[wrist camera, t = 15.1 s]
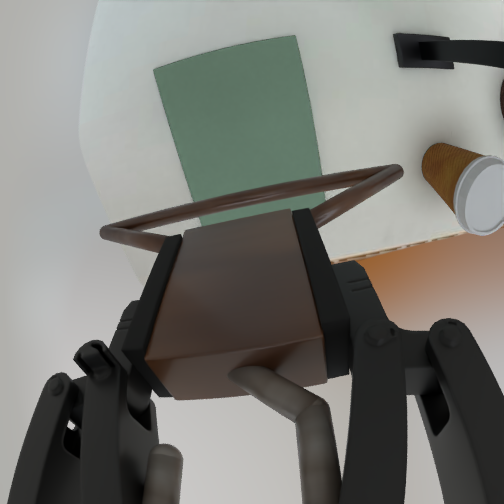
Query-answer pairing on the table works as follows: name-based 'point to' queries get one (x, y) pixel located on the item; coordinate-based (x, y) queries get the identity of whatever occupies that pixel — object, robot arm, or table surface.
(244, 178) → the mat
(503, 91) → the black ball on stand
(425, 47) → the black and grey stand
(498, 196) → the disposable coffee cup
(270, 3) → the table surface
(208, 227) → the hanger
